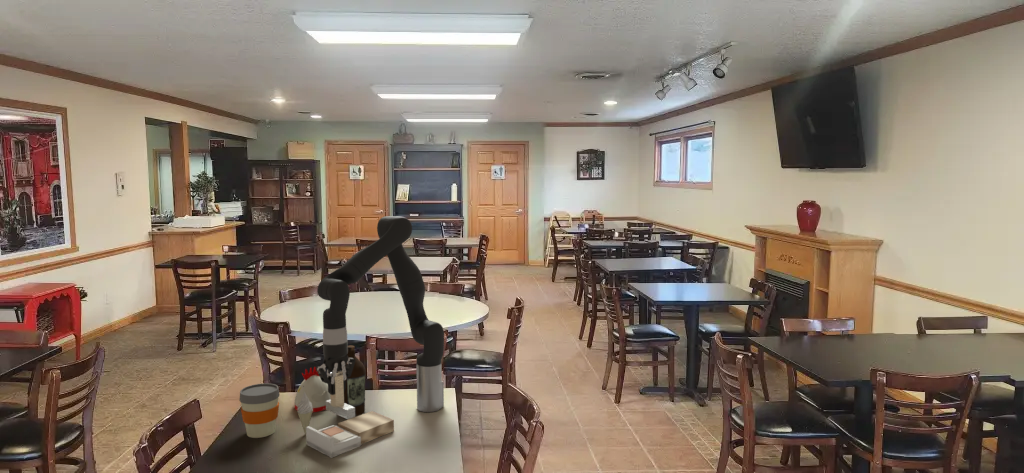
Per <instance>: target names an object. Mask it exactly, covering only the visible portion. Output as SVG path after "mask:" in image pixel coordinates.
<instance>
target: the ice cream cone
mask: <svg viewBox="0 0 1024 473" xmlns="http://www.w3.org/2000/svg"><path fill="white" fill-rule="evenodd" d="M297 410H298V411H297ZM297 410H296V411H297V414H298V417H299V422H300V423H301V425H302V426H301V427H302V429H303V432H304V435H306V427H308V426H310V422H311V417H312V414H313V412H312V411H313V409H312V403H311V402H309V399H308V397H307V395H306V394H305V392H304V394H303V396H302V398H301V402H300V403H299V405H298V408H297Z"/></svg>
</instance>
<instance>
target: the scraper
mask: <svg viewBox="0 0 1024 473" xmlns="http://www.w3.org/2000/svg"><path fill="white" fill-rule="evenodd" d="M334 384H335V395H331V394H330V398H331V399H330V400H327V401H326V411H328V412H330V413H332V414H335V415H336V416H339V417H341V418H344V419H345V420H348V419H351V418H354V417H355V407H353V406H351V405H348V404H346V403H344V386H343V375H342V374H339V373H336V377H335V381H334Z"/></svg>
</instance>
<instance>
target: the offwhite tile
mask: <svg viewBox="0 0 1024 473" xmlns="http://www.w3.org/2000/svg"><path fill="white" fill-rule="evenodd" d="M331 437H332V438H334V444H336V443H338V442H341V441H344V440H346V439H349V438H352V437H354V435H351V434H349V433H347V432H345V431H344V432H341V433H338V434H336V435H333V436H331Z"/></svg>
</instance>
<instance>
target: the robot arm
mask: <svg viewBox="0 0 1024 473" xmlns="http://www.w3.org/2000/svg"><path fill="white" fill-rule="evenodd" d="M376 231H377V235H378V238H379V239H377V240H376V241H374V242H373V243H371V244H370V245H368V246H365V247H364V248H362V249H360V250H359V251H358V252H356V253H354V254H353V255H352V256H351V257H350V258H349V259H348V260H347V261H346V262H345V263H343V265H342V266H341V267H339V268H337V269H335V270H334V271H332V272H331V273H329V274H328V275H326V276H325V277H324V278H322V280H321V281H320V282H318V283H319V284H318V286H317V290H316V292H317V294H318V296H319V298H320V299H322V300H325V301H329V307H328V308H326V309H324V310H323V313H322V328H323V329H322V330H323V331H322V348H323V349H322V350H323V351H322V353H323V357H324V359H323V362H322V364H321V365H320V366H315V367H316V372H318V374H319V376H320V378H321V380H322V382H324V383H327V384H328V392H329V393H330V394H331V395H335V384H334V381H335V377H336V372H338V373H339V374H342V375H343V386H344V391H345V389H346V378H348V377H350V376H351V374H352V371H353V367H354V364H355V361H356V360H355V359H353V358H348V356H347V354H348V346H349V345H348V343H349V342H348V329H347V317H346V315H347V314H346V313H347V310H348V305H349V300H350V294H351V293H350V292H351V291H350V288H349V285H351V284H356V283H357V282H359V281H360V280H361V279H362V278H363V277H364V276H366V274H367V273H368V272H369V271H370V269H372V267H374V266H375V265H377V263H379V261H381V260H382V259H384V258H385V257H386V256H387V258H388V261H389V263H390V266H391V269H392V273H393V274H394V277H395V281H396V286H397V287H398V290H399V294H400V296H401V298H402V302H403V305H404V308H405V312H406V314H407V315H406V316H407V319H408V323H409V329H410V332H411V337H412V339H413V340H414V341H415V342H416V343H418V344H419V345H422V346H423V352H422V353H420V354H418V355H417V356H416V409H417V410H418V411H419V412H424V413H433V412H437V411H439V410H441V409H442V408H443V407H444V406H445V404H444V403H445V398H444V396H445V395H444V393H445V392H444V389H445V386H444V381H443V378H442V377H443V376H442V359H443V356H444V349H445V348H444V347H445V331H444V330H445V329H444V327H443V325H442V324H440V323H439V322H436V321H433V320H429V319H428V316H427V314H426V310H425V307H424V301H425V300H424V299H425V295H426V294H425V293H426V286H425V281H424V280H423V279H424V278H423V275H422V272H421V270H420V269H419V267H418V266H417V264H416V263H415V262H414V260H413V259H412V258H411V257H410V255H409V254H408V253H407V252H406V250H405V248H404V246H403V243H405V242H407V241H408V240H409V238H411V236H412V232H413V225H412V222H411V220H410V219H408V218H407V217H404V216H397V215H395V216H394V215H393V216H392V215H389V216H388V215H387V216H383V217H381V218H380V219H379V220H378V222H377V226H376ZM346 363H347V365H346ZM345 365H346V368H345Z"/></svg>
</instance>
